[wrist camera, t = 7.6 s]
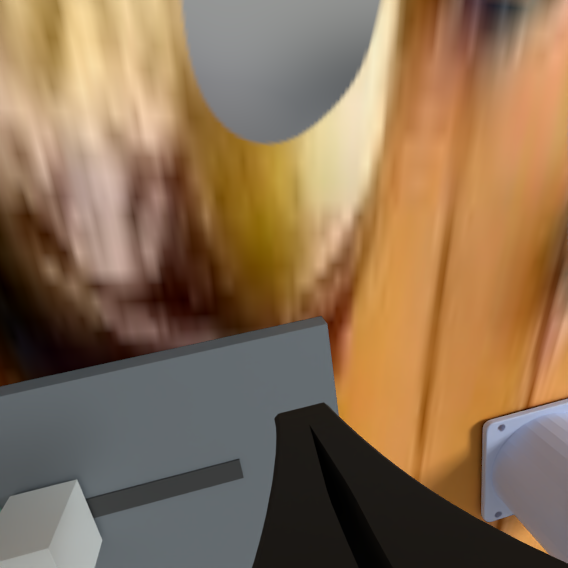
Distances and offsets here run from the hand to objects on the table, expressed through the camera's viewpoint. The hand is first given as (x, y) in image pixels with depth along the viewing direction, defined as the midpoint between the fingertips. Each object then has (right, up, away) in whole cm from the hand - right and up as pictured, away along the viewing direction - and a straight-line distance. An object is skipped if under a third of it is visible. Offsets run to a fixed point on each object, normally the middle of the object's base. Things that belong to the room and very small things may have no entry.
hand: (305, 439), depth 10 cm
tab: (-12, -7, +9) cm, 16 cm away
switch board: (-7, -11, +12) cm, 18 cm away
